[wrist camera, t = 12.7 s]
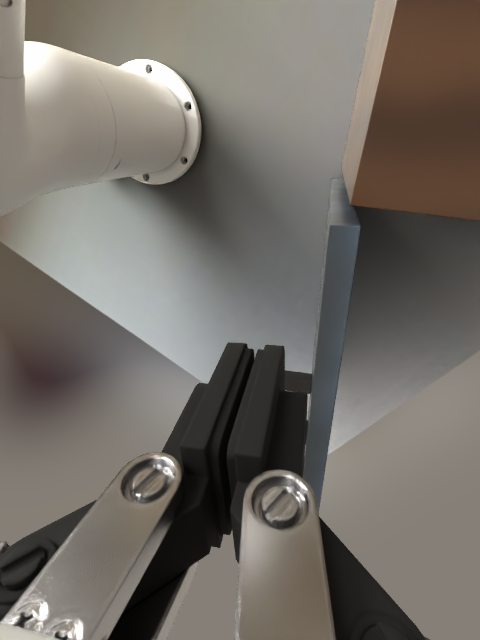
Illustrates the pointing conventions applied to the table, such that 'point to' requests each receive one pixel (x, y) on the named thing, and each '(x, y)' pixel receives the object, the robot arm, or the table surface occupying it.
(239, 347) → the robot arm
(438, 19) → the cupboard
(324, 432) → the door
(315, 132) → the table surface
